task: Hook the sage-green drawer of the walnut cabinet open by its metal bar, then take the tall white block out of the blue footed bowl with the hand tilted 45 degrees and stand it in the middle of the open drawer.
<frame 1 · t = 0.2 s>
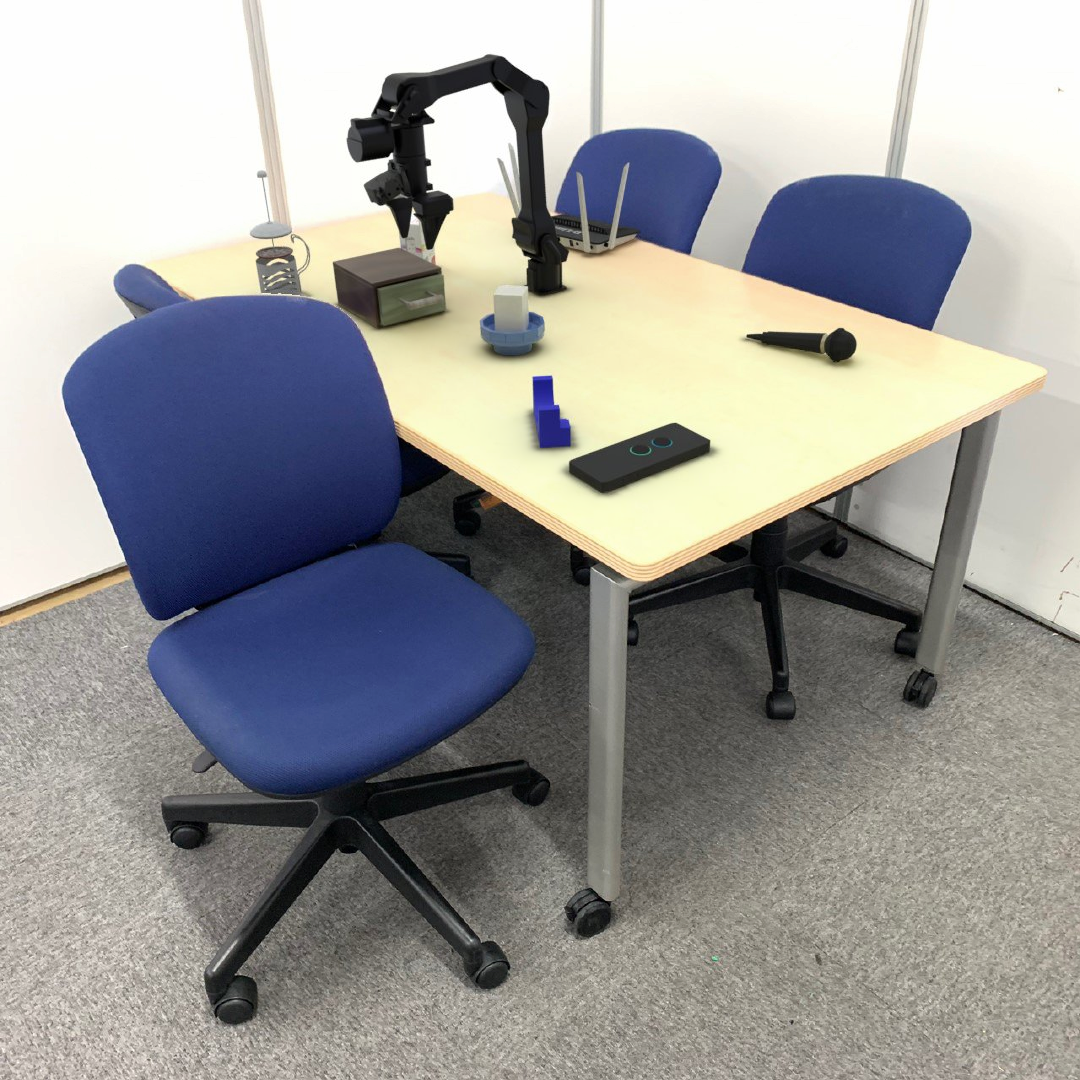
hand: (416, 243, 186), 15 cm above the table, tool pointing down, fingers open, 9 cm apart
smart home device: (640, 462, 145), on the table
drawer: (400, 293, 194), point 4 cm above the table, slide at 0.5 cm
french press: (286, 299, 206), on the table
blue stepped block: (551, 429, 154), on the table
white block: (512, 330, 179), point 3 cm above the table, touching blue bowl
wireless router: (571, 243, 234), on the table
ink cartridge box: (419, 274, 218), on the table
cabinet: (390, 308, 200), on the table
blue bowl: (513, 348, 181), on the table
microphone: (801, 351, 178), on the table
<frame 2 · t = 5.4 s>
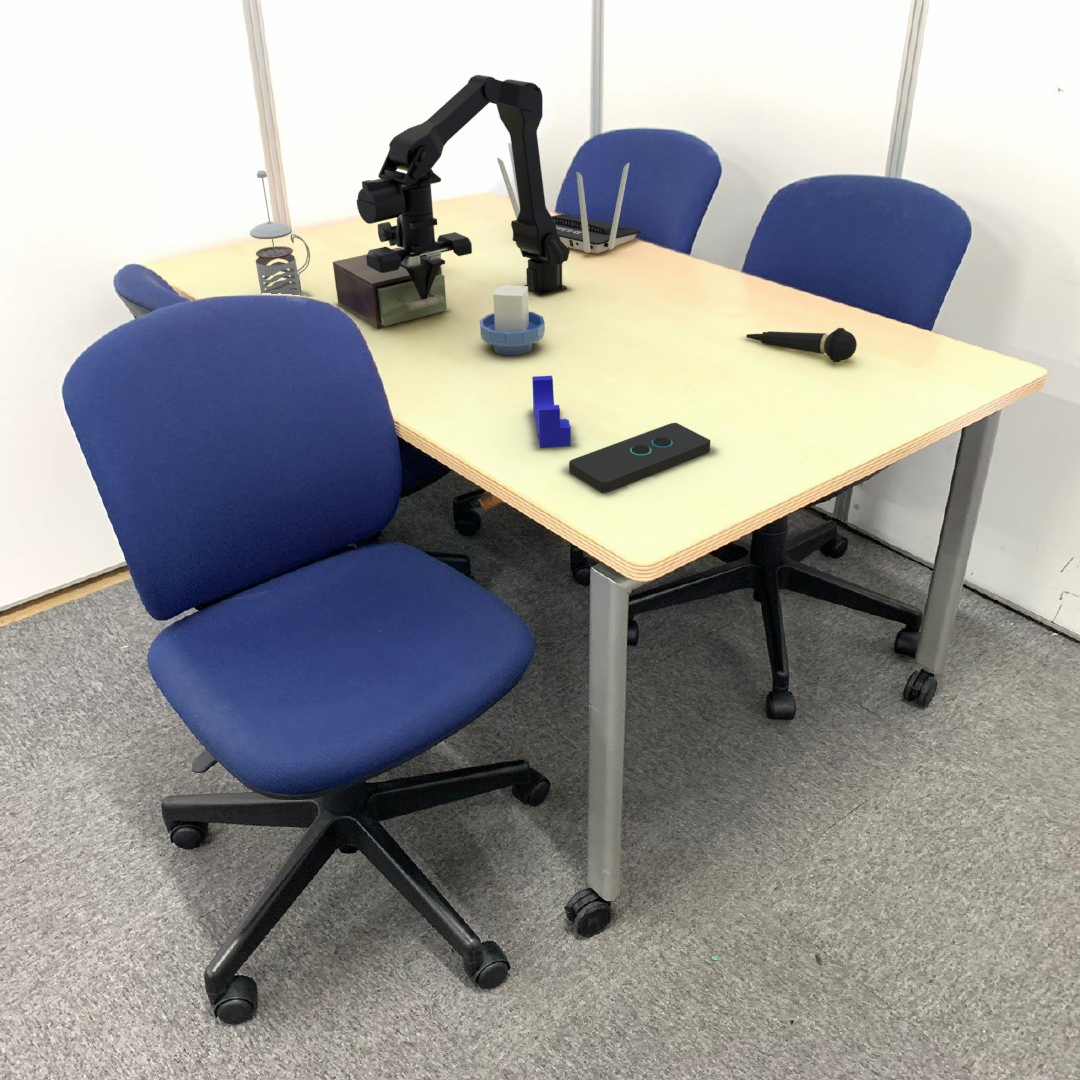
hand: (423, 298, 187), 6 cm above the table, tool pointing down, fingers closed, pressing on drawer
drawer: (401, 293, 194), point 4 cm above the table, slide at 0.8 cm, touching gripper
everything else where it was.
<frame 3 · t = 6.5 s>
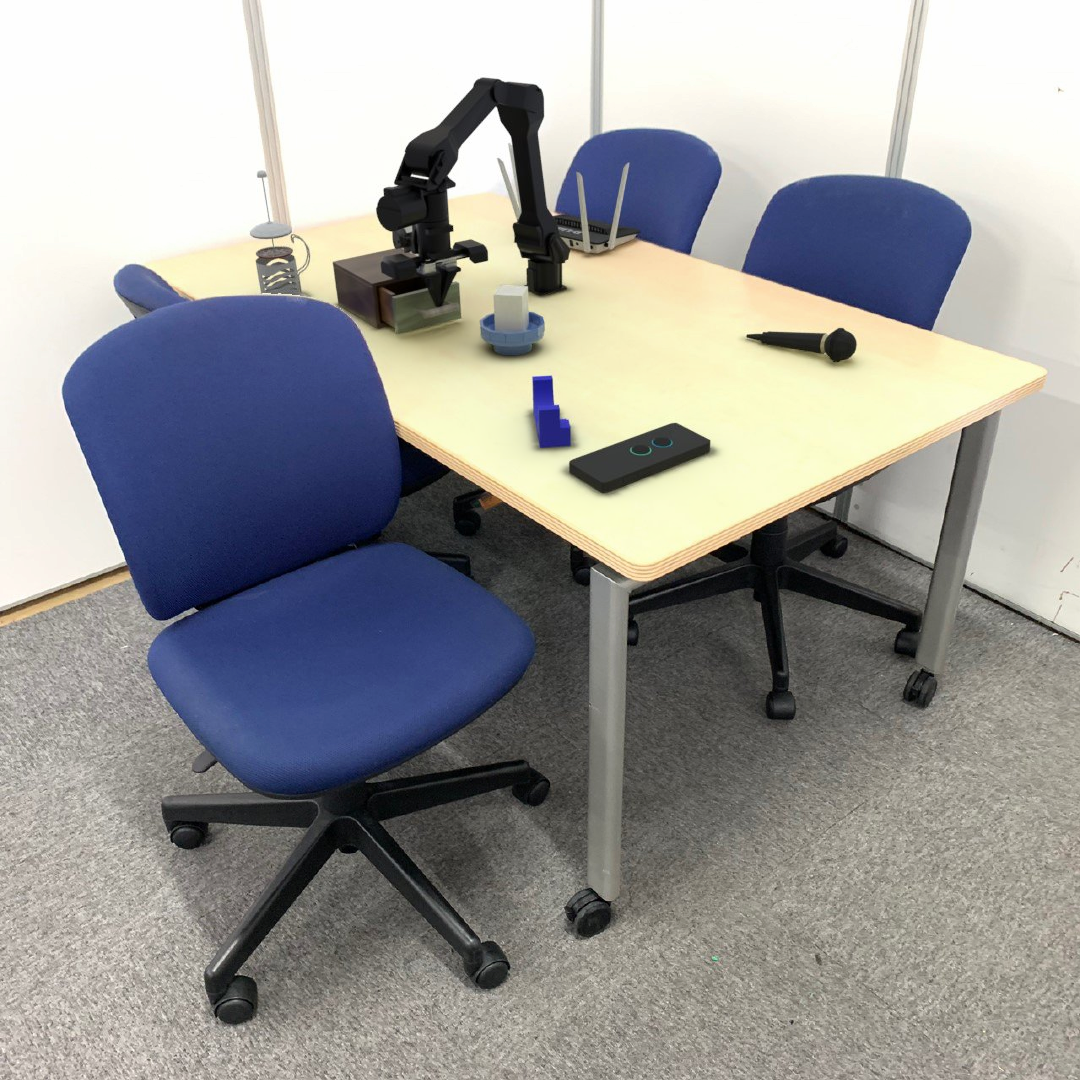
hand: (438, 306, 184), 6 cm above the table, tool pointing down, fingers closed, pressing on drawer
drawer: (415, 300, 190), point 4 cm above the table, slide at 6.1 cm, touching gripper
everything else where it was.
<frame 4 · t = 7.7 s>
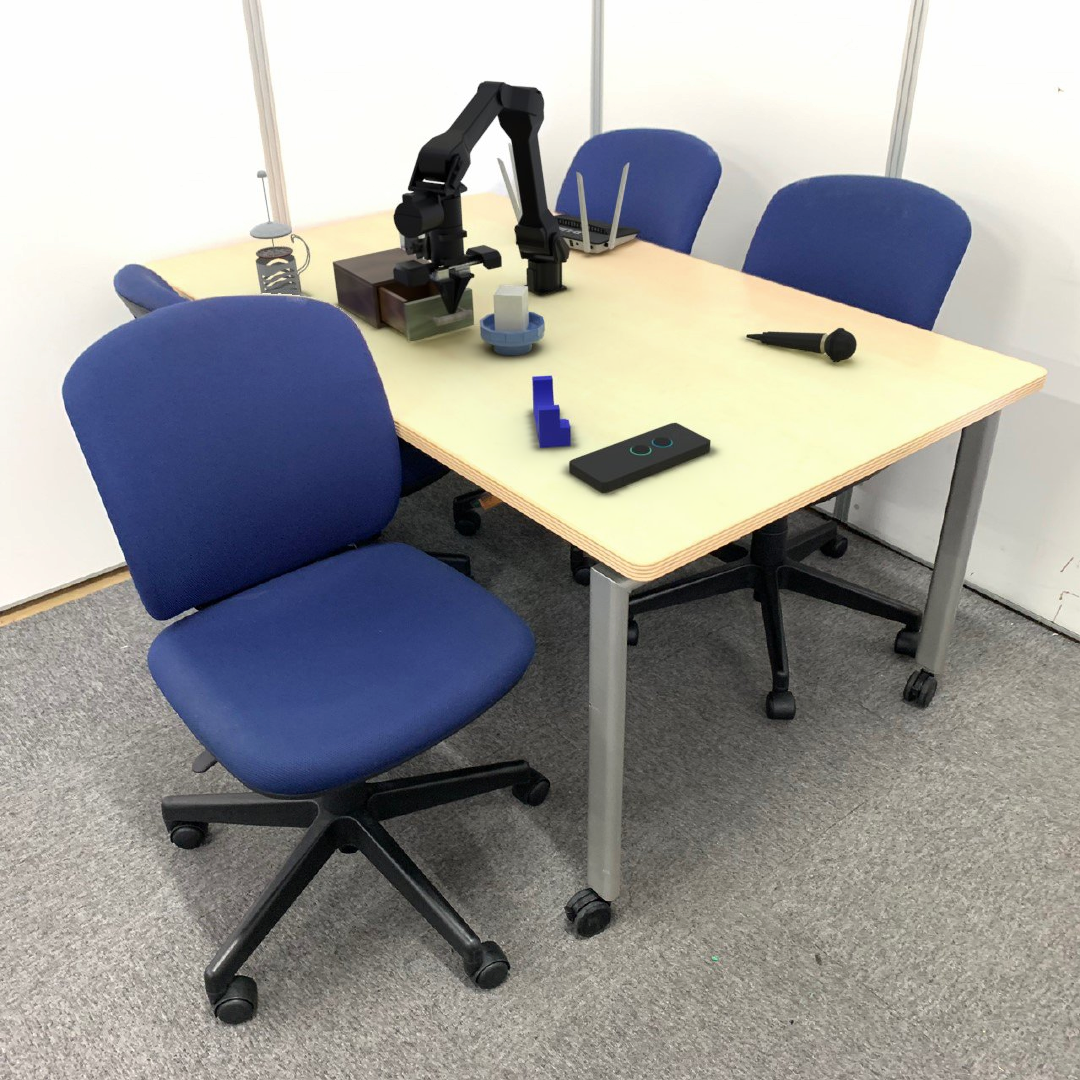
hand: (451, 313, 181), 6 cm above the table, tool pointing down, fingers closed, pressing on drawer
drawer: (427, 307, 187), point 4 cm above the table, slide at 10.6 cm, touching gripper
everything else where it was.
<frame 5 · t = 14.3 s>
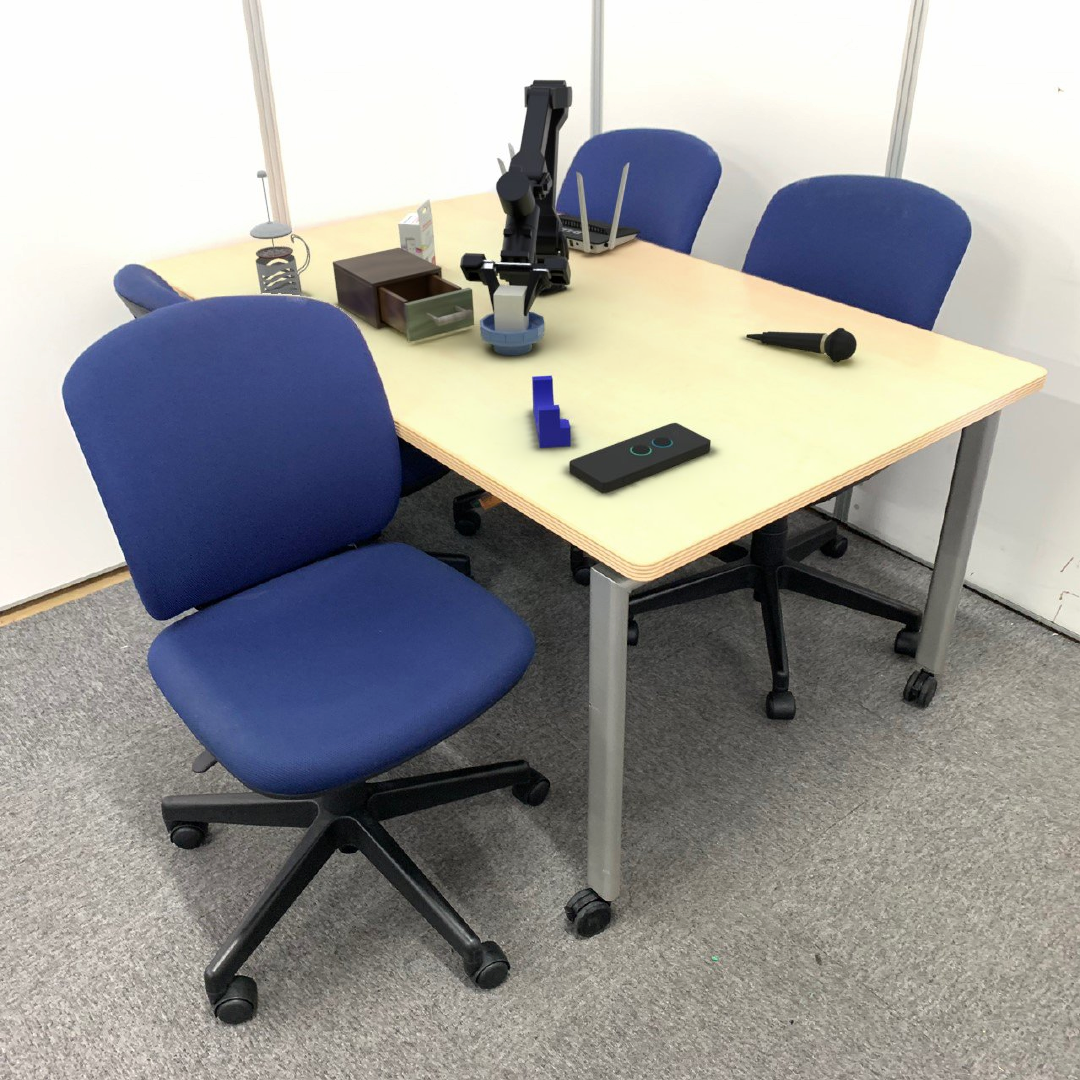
hand: (509, 314, 177), 7 cm above the table, tool tilted 45°, fingers closed on white block, 5 cm apart
drawer: (427, 307, 187), point 4 cm above the table, slide at 10.6 cm
white block: (512, 330, 179), point 3 cm above the table, touching blue bowl, gripper
everything else where it was.
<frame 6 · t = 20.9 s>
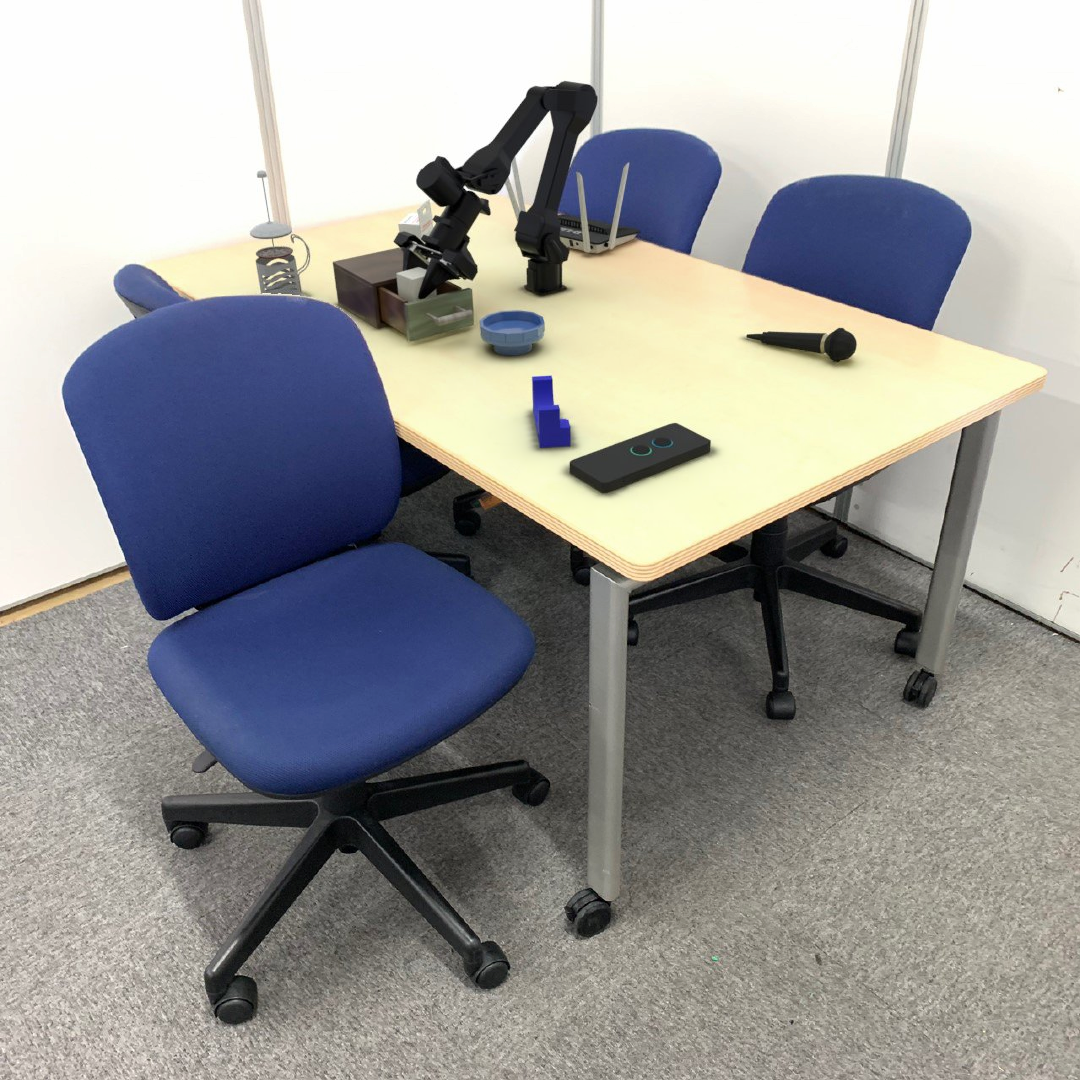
hand: (411, 295, 186), 7 cm above the table, tool tilted 45°, fingers closed on white block, 5 cm apart
white block: (418, 311, 188), point 3 cm above the table, touching gripper
everything else where it was.
when the fingers open (7 cm above the table, at t = 24.4 s): white block drops 2 cm, resting on drawer.
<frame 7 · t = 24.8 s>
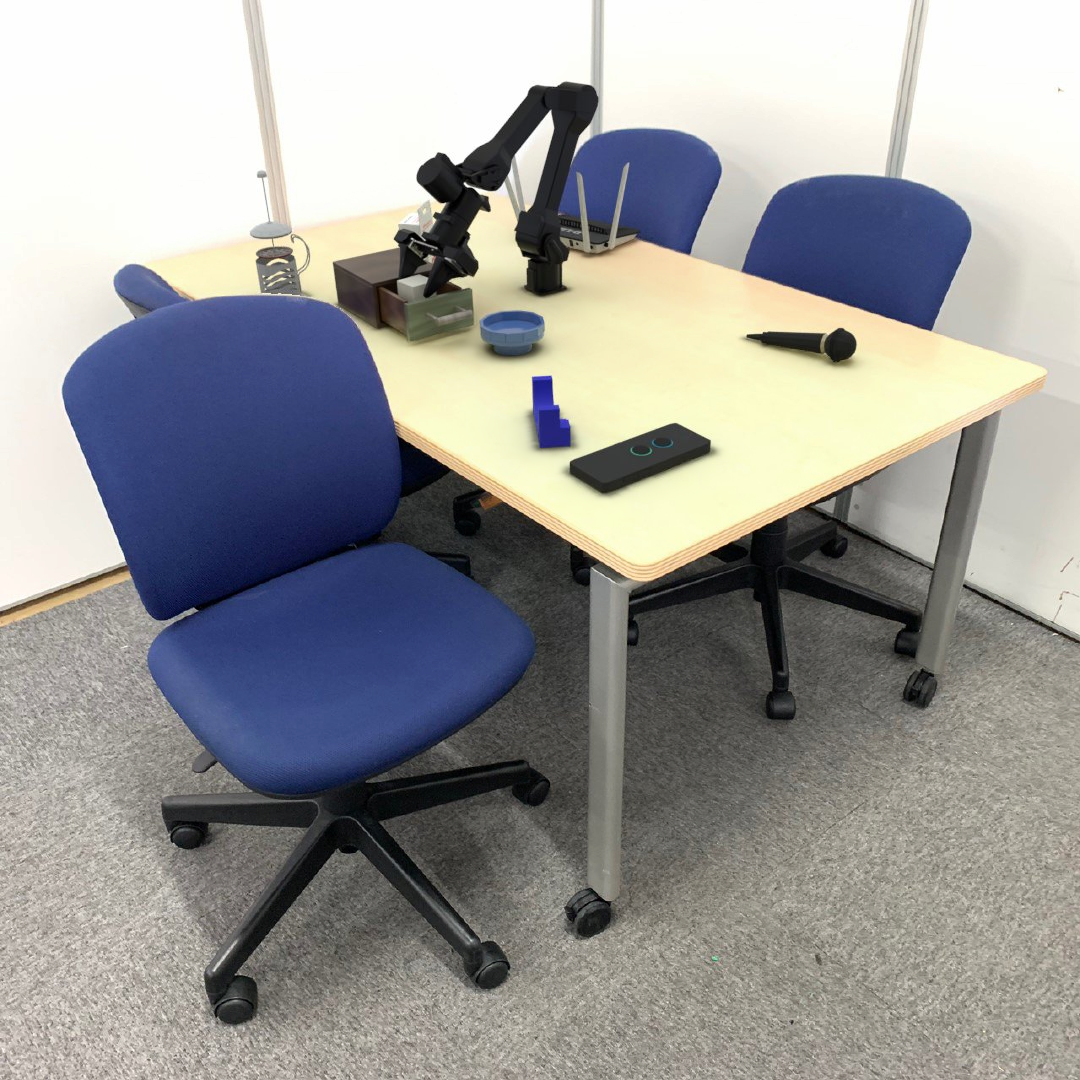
hand: (412, 292, 185), 7 cm above the table, tool tilted 45°, fingers open, 7 cm apart
drawer: (427, 307, 187), point 4 cm above the table, slide at 10.6 cm, touching white block
white block: (419, 318, 189), point 2 cm above the table, touching drawer
everything else where it was.
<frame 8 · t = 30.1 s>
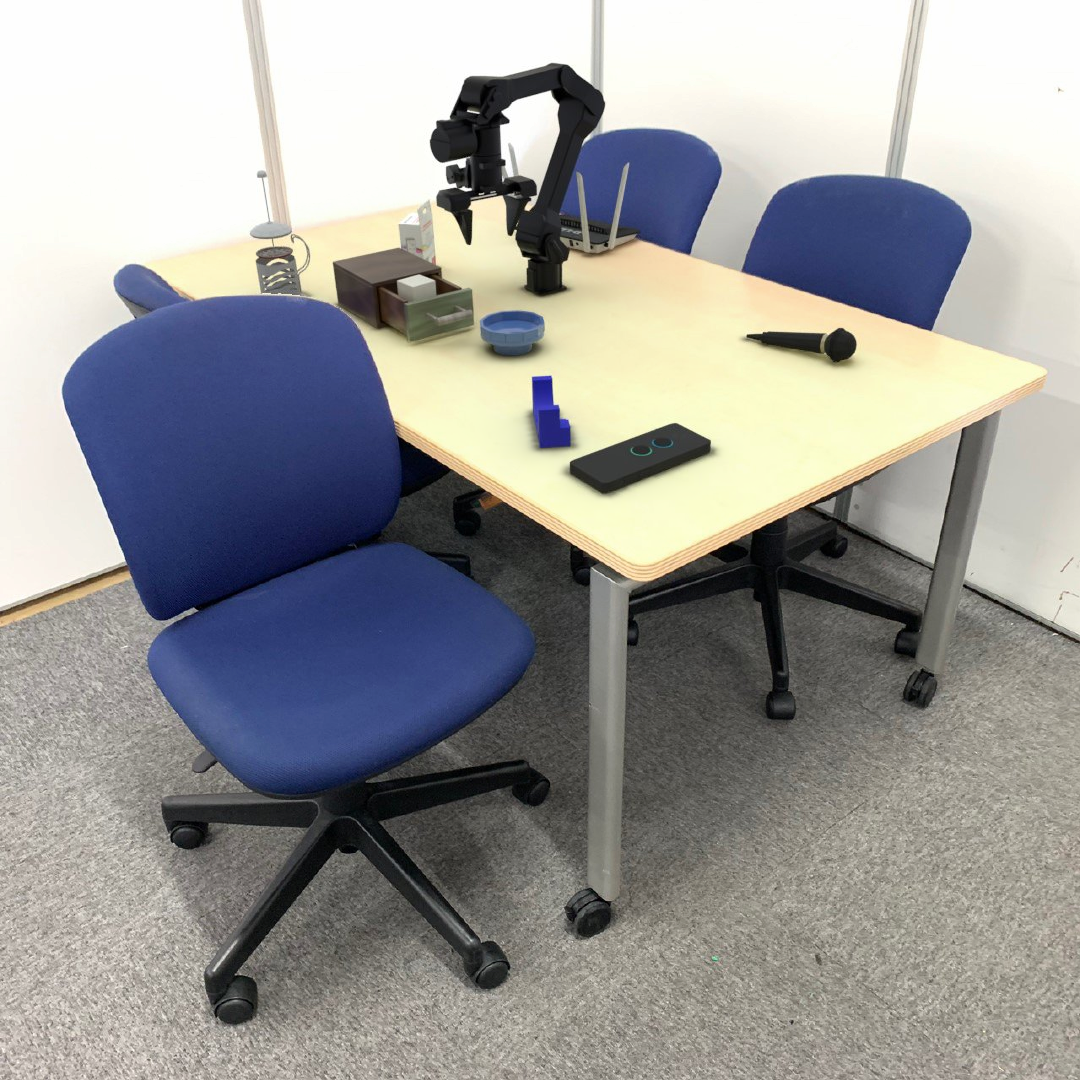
hand: (489, 240, 192), 13 cm above the table, tool pointing down, fingers open, 9 cm apart
nothing on the table moved.
at the end: drawer slide at 10.6 cm; white block inside the target area in the drawer (1.0 cm from its centre), point 2.0 cm above the cabinet's base; white block tilted 0° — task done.
